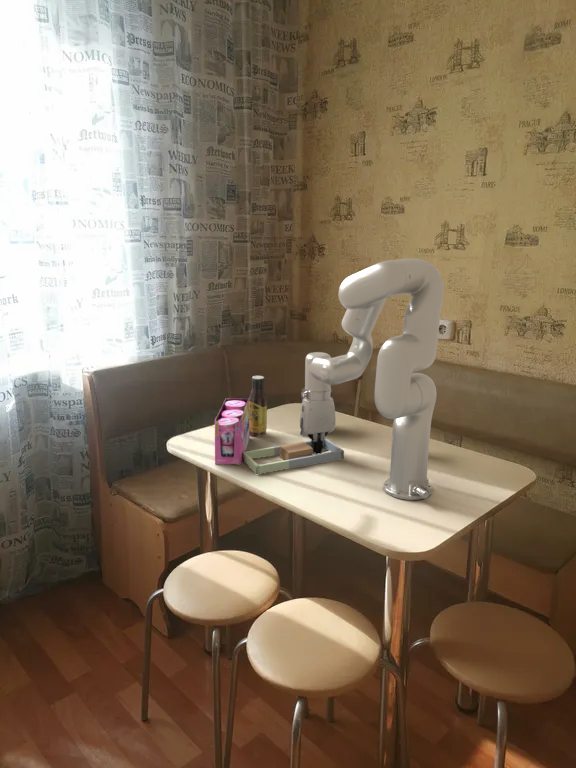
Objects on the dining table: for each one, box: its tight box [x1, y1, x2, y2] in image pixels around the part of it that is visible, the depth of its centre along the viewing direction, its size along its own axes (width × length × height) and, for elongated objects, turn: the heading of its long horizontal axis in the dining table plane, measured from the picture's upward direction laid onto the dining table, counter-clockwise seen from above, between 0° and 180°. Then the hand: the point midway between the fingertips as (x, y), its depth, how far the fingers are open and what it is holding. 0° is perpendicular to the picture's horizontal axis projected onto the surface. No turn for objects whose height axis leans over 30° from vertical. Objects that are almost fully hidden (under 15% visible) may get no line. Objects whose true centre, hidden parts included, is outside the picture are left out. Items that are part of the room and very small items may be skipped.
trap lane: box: [242, 437, 345, 475], centre depth 173 cm, size 12×28×2 cm, turn 114°
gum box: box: [214, 397, 251, 465], centre depth 178 cm, size 24×8×14 cm, turn 177°
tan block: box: [279, 441, 314, 461], centre depth 174 cm, size 6×8×4 cm
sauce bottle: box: [248, 375, 268, 438], centre depth 191 cm, size 7×6×20 cm
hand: (316, 452), depth 177 cm, fingers closed
